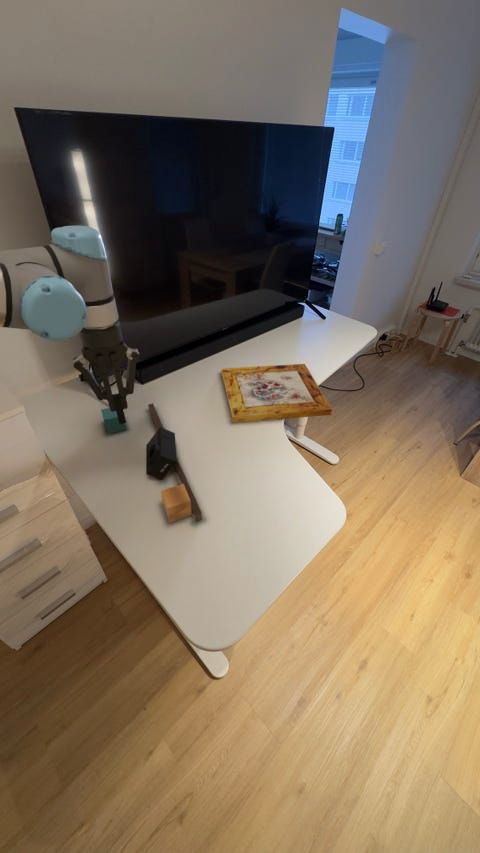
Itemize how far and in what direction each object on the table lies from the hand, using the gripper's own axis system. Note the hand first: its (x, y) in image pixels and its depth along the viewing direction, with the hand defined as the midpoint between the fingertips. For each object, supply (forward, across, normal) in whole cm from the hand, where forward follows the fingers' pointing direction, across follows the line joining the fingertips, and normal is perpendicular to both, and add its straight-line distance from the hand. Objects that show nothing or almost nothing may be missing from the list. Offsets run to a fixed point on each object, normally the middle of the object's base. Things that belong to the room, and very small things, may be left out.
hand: (121, 420), depth 79 cm
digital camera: (+11, -4, +5) cm, 13 cm away
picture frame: (+12, -47, -13) cm, 51 cm away
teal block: (+12, +2, -14) cm, 19 cm away
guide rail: (+12, -10, +4) cm, 16 cm away
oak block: (+12, -6, +20) cm, 24 cm away
